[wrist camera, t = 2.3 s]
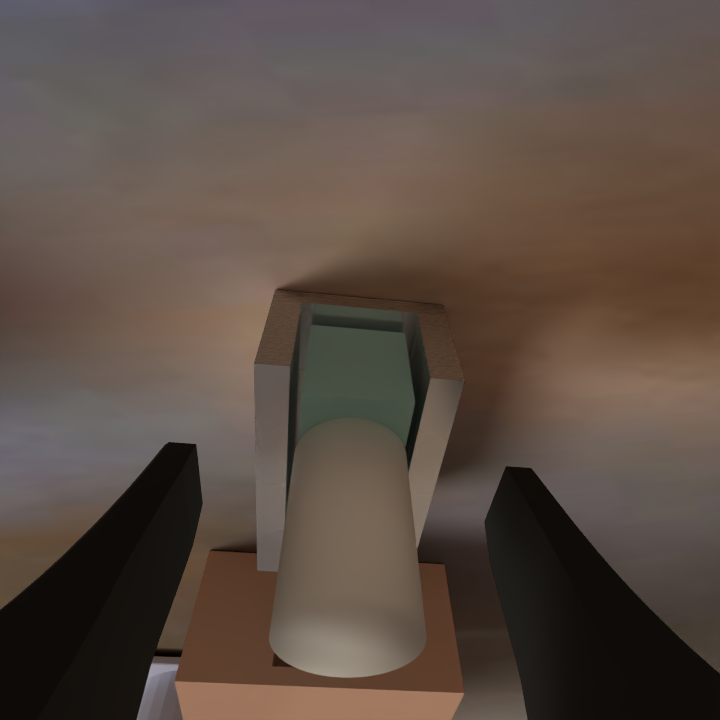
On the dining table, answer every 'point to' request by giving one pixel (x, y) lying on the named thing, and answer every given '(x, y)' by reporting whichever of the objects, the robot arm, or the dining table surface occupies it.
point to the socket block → (294, 686)
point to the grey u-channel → (284, 386)
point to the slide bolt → (350, 513)
